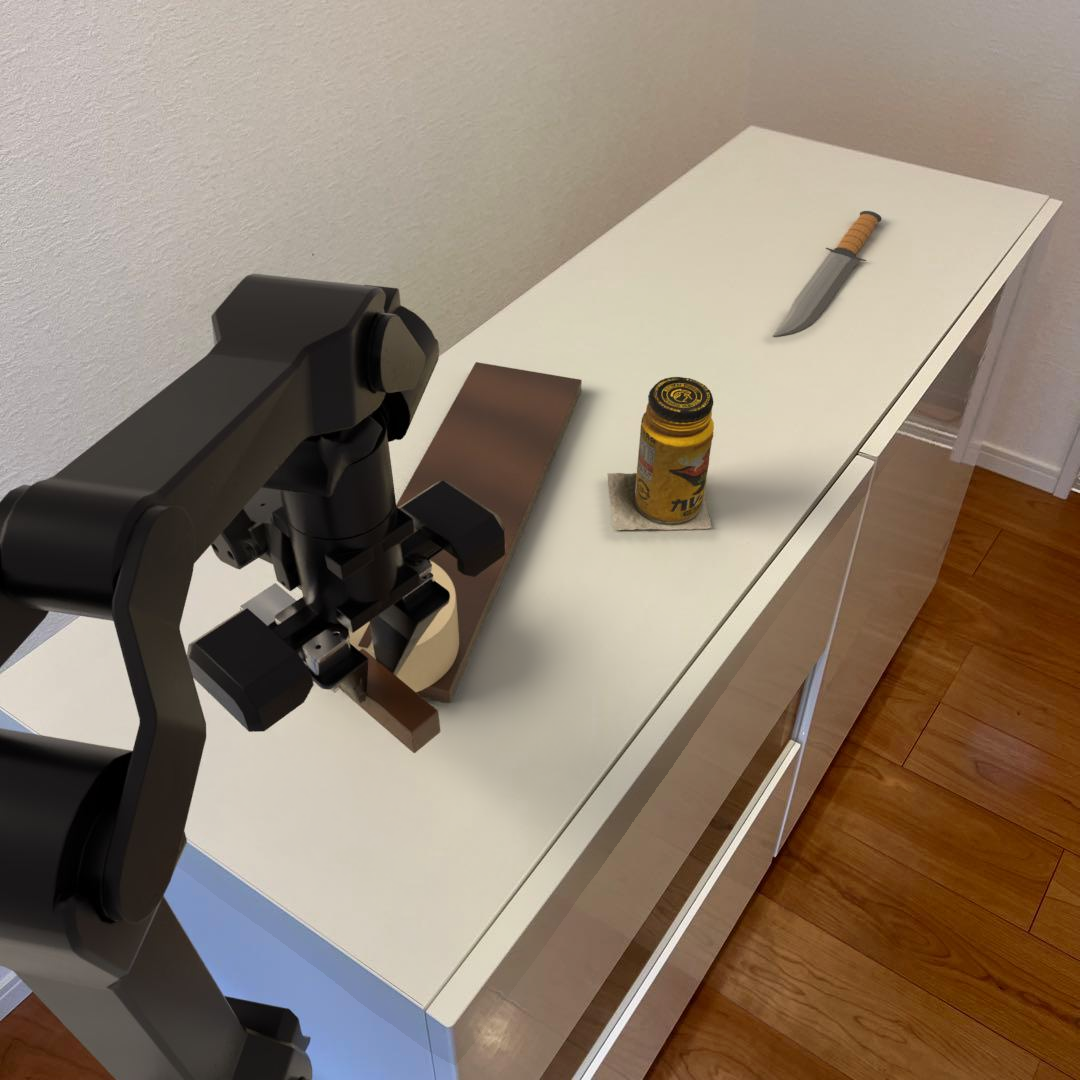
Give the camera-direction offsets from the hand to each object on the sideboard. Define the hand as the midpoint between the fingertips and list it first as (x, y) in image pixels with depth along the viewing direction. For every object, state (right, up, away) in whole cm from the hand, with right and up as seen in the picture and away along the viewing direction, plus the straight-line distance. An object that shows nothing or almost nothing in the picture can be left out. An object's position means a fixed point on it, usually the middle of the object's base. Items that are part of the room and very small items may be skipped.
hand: (372, 686), depth 66 cm
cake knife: (-2, +1, +2) cm, 3 cm away
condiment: (+21, +12, +29) cm, 38 cm away
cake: (-1, +1, +15) cm, 15 cm away
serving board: (+4, +11, +28) cm, 30 cm away
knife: (+44, +39, +57) cm, 82 cm away
